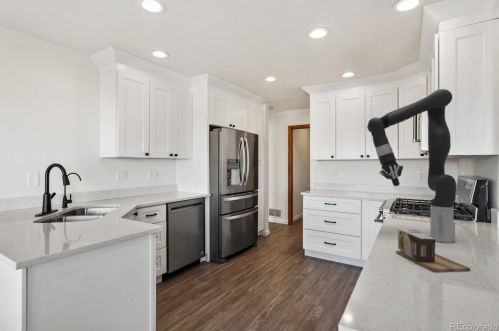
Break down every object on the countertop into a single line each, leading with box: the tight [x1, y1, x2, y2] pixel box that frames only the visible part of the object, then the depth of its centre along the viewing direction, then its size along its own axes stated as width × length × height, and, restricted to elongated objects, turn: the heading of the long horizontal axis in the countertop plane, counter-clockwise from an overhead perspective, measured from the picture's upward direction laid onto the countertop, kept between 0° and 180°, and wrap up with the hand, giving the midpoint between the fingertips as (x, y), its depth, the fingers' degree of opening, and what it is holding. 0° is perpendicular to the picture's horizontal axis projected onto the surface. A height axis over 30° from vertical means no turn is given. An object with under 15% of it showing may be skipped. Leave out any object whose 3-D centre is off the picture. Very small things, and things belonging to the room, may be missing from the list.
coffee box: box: [397, 227, 436, 263], centre depth 106 cm, size 9×6×16 cm
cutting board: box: [395, 250, 471, 273], centre depth 102 cm, size 14×20×1 cm
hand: (397, 185), depth 135 cm, fingers closed
